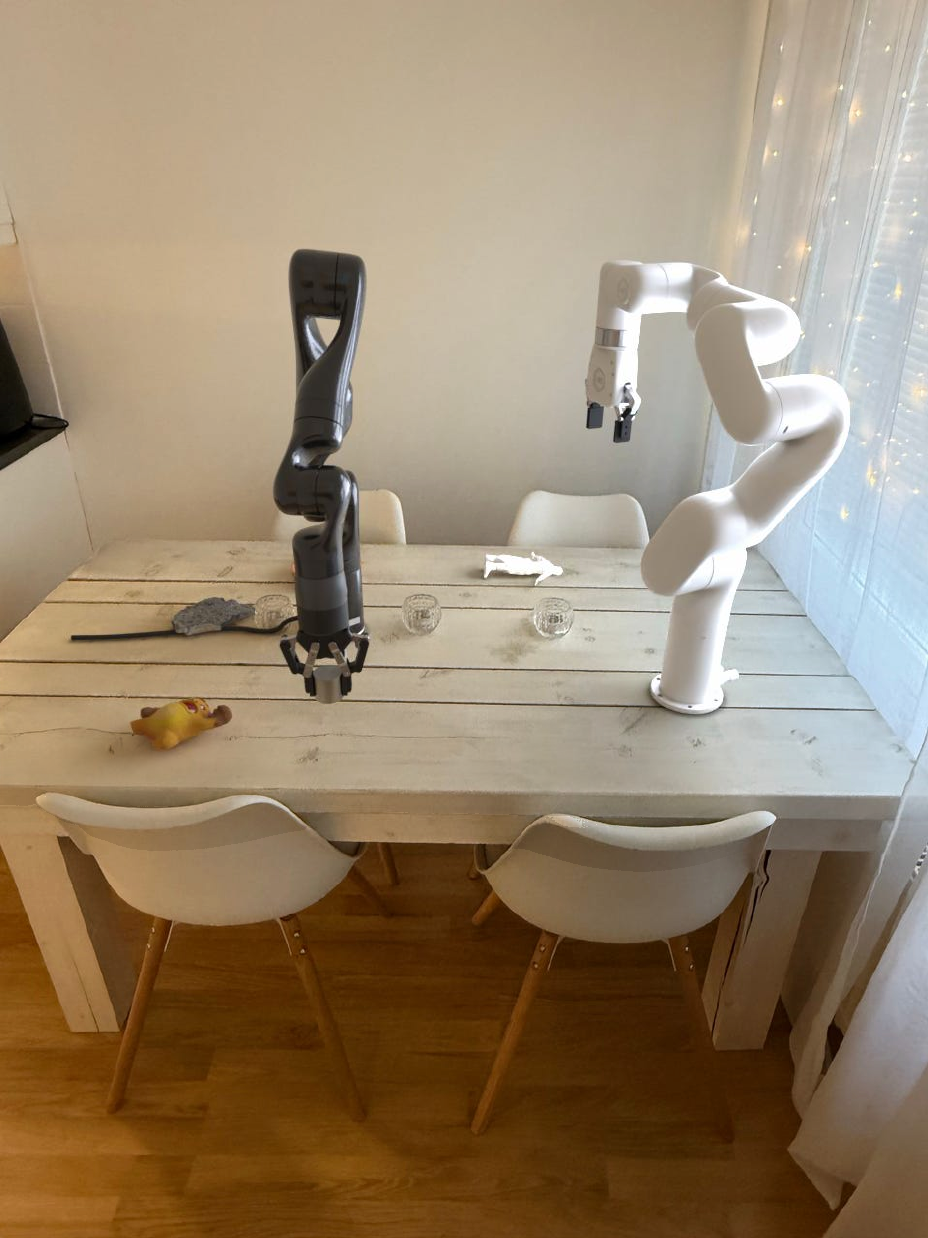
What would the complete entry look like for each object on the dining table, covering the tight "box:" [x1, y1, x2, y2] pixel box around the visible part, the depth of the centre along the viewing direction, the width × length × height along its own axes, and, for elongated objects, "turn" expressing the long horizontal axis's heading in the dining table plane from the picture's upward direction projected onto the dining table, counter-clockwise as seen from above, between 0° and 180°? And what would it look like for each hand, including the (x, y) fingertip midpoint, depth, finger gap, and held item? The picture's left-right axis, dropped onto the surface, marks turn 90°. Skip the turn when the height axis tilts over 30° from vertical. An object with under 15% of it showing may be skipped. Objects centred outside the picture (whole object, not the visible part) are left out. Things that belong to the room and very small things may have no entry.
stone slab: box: [170, 596, 256, 637], centre depth 168 cm, size 12×17×3 cm
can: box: [313, 664, 345, 705], centre depth 127 cm, size 4×4×4 cm
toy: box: [129, 697, 233, 751], centre depth 133 cm, size 11×6×15 cm
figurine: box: [483, 551, 563, 586], centre depth 188 cm, size 17×5×18 cm
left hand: (329, 693), depth 128 cm, fingers closed on can, 4 cm apart
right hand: (607, 434), depth 150 cm, fingers open, 9 cm apart
